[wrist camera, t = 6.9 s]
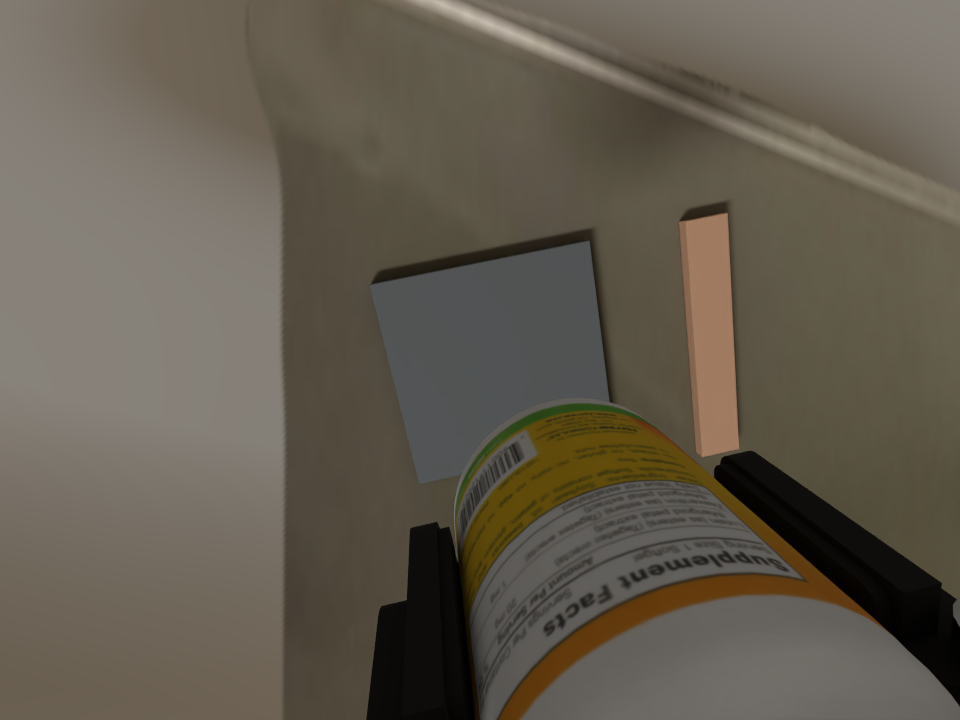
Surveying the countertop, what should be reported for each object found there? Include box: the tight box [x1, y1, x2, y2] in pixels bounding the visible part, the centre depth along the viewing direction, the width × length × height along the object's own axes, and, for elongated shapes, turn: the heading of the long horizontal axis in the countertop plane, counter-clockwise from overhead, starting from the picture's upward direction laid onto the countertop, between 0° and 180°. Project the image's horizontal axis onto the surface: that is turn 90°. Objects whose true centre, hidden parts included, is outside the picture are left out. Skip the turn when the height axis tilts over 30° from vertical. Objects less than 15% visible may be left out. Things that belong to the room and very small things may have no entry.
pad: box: [370, 240, 609, 484], centre depth 24 cm, size 10×10×1 cm
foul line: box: [679, 213, 739, 457], centre depth 25 cm, size 12×2×1 cm, turn 11°
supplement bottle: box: [454, 398, 960, 720], centre depth 7 cm, size 5×5×10 cm
